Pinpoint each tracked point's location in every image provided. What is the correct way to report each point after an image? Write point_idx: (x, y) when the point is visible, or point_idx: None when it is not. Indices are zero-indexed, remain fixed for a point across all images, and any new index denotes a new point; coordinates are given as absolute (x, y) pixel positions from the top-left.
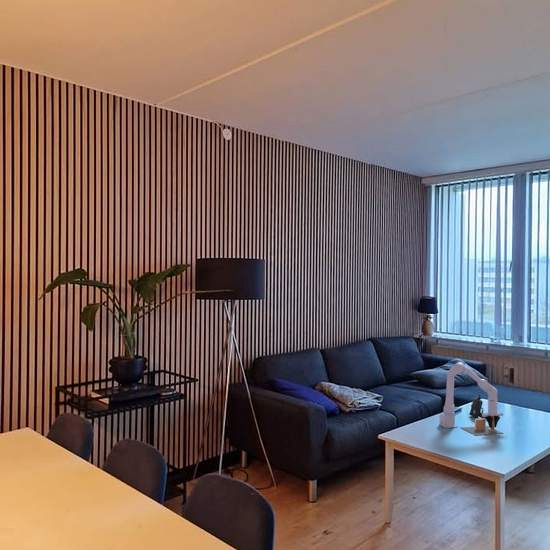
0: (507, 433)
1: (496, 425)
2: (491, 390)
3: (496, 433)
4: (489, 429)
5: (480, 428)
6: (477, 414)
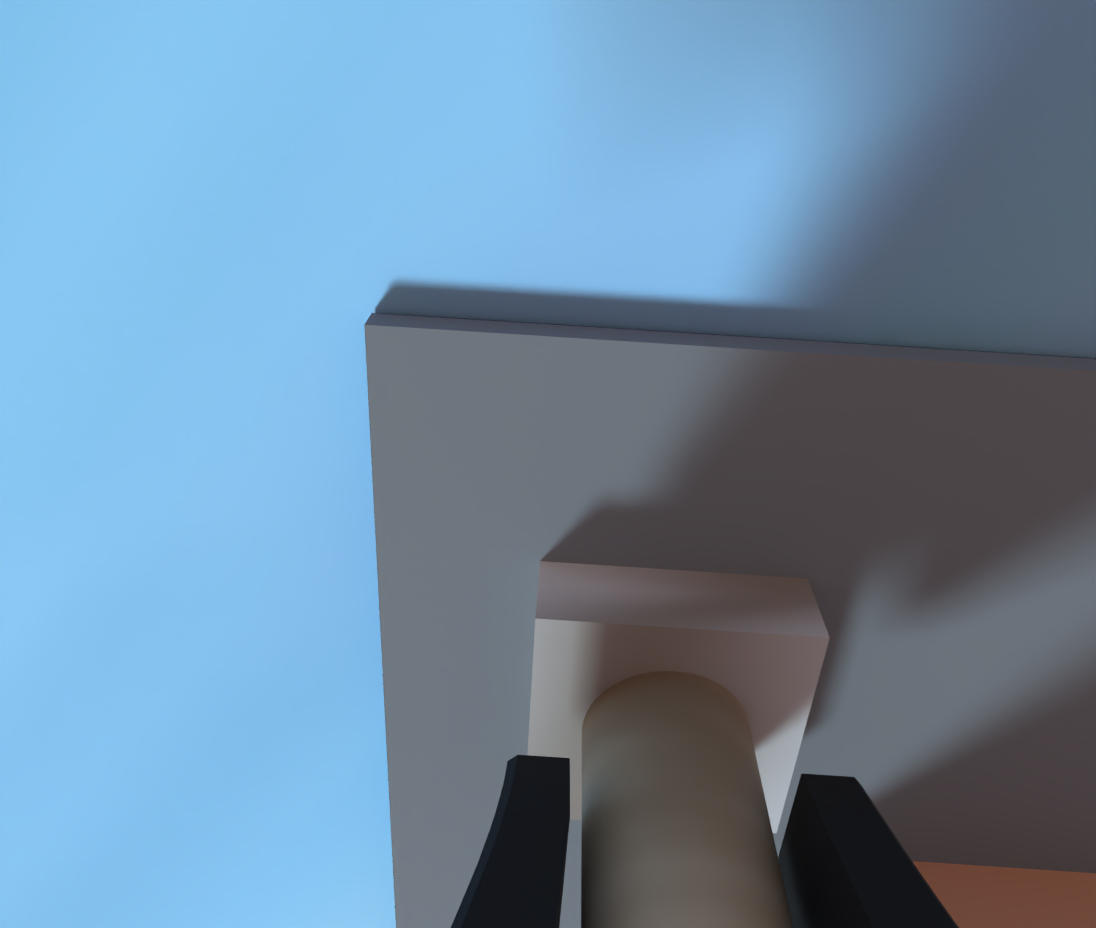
0: (98, 297)
1: (507, 838)
2: None
3: (765, 365)
4: (789, 765)
5: (1043, 923)
6: None
